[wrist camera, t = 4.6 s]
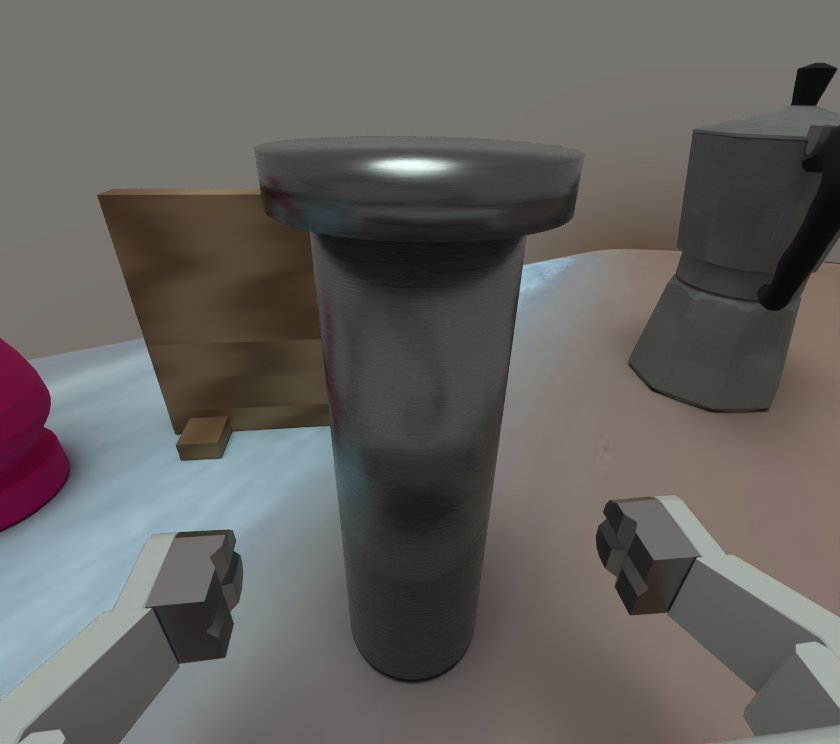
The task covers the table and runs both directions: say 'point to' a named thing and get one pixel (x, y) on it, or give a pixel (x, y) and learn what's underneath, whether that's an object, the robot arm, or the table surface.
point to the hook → (416, 357)
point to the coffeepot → (746, 252)
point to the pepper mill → (25, 440)
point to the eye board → (221, 311)
